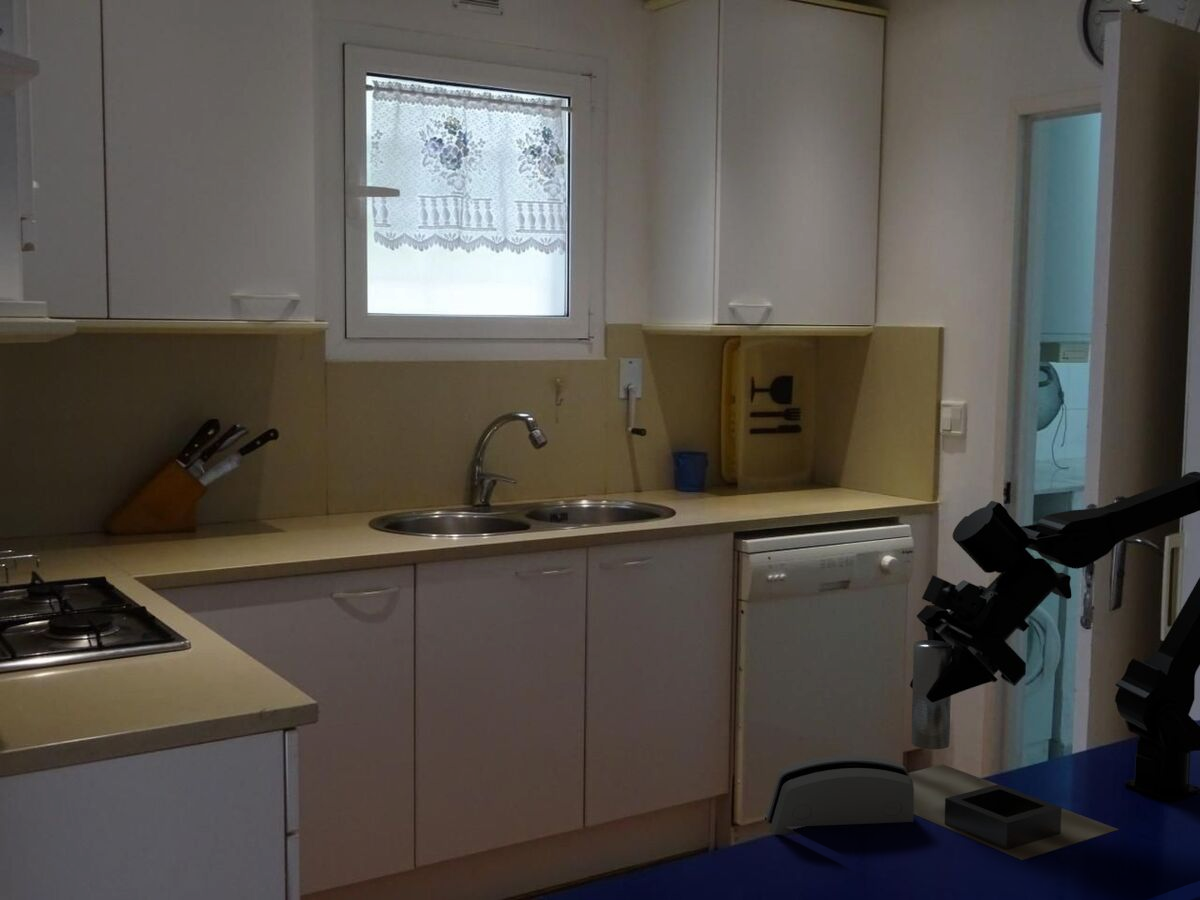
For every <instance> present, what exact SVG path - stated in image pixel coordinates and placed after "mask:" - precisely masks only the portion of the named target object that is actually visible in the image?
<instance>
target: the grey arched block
mask: <svg viewBox="0 0 1200 900" xmlns="http://www.w3.org/2000/svg"><path fill="white" fill-rule="evenodd" d="M909 773H910V772H909V771H908V770H907V768H906V767H905V766H904V765H903V764H902V763H899V762H896V761H893V760H889V759H885V758H880V757H874V756H867V755H864V756H863V755H835V756H825V757H820V758H819V757H818V758H814V759H809V760H804V761H801V762H797V763H794V764H790V765H788V766H784V767H783V768H781V769H780V770H779V772H778V773H777V778H776V780H775V784H774V788H773V790H772V794H771V797H770V801H769V805H768V807H766V808H765V814H766V816H764V821H766V824H770V827H769V832H770V833H771V834H773V835H774V836H779V835H781V836H782V835H797V834H799V835H800V833H799V832H797V831H795V830H793V829H791V827H794V828H795V827H815V826H816V827H817V826H818V827H819V826H820V827H821V826H837V825H838V826H840V825H842V826H843V825H863V824H864V825H867V824H870V825H871V824H889V823H892V824H893V823H914V816H915V815H914V786H913V781H912V779H911V778H910V777H909ZM785 832H786V833H785Z"/></svg>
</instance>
